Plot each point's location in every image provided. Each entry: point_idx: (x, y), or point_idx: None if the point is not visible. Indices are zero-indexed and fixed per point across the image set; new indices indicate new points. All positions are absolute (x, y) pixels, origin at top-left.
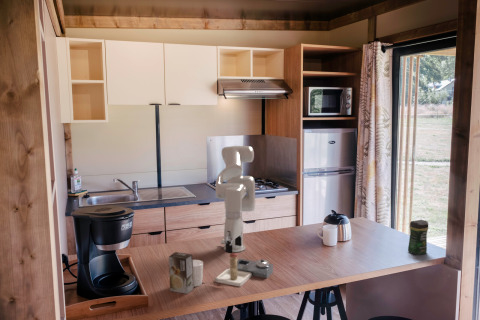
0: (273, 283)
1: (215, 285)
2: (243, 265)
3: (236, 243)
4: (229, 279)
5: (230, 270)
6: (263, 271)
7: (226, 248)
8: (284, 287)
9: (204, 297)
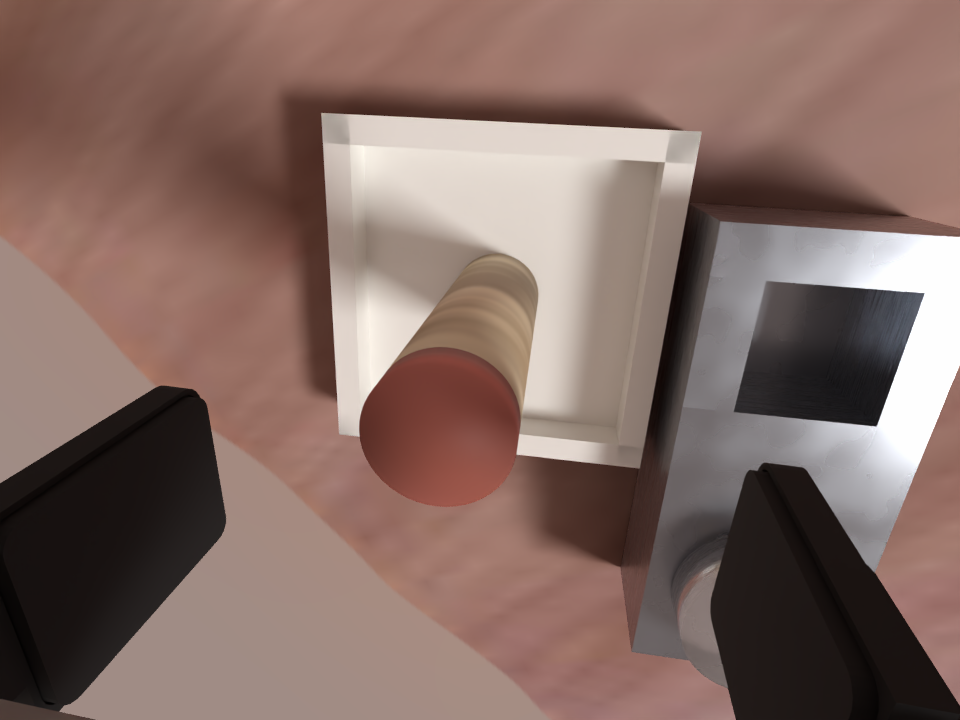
0: (574, 620)
1: (307, 143)
2: (701, 388)
3: (752, 544)
4: (457, 257)
5: (444, 295)
6: (636, 601)
7: (86, 459)
8: (530, 692)
9: (39, 163)
